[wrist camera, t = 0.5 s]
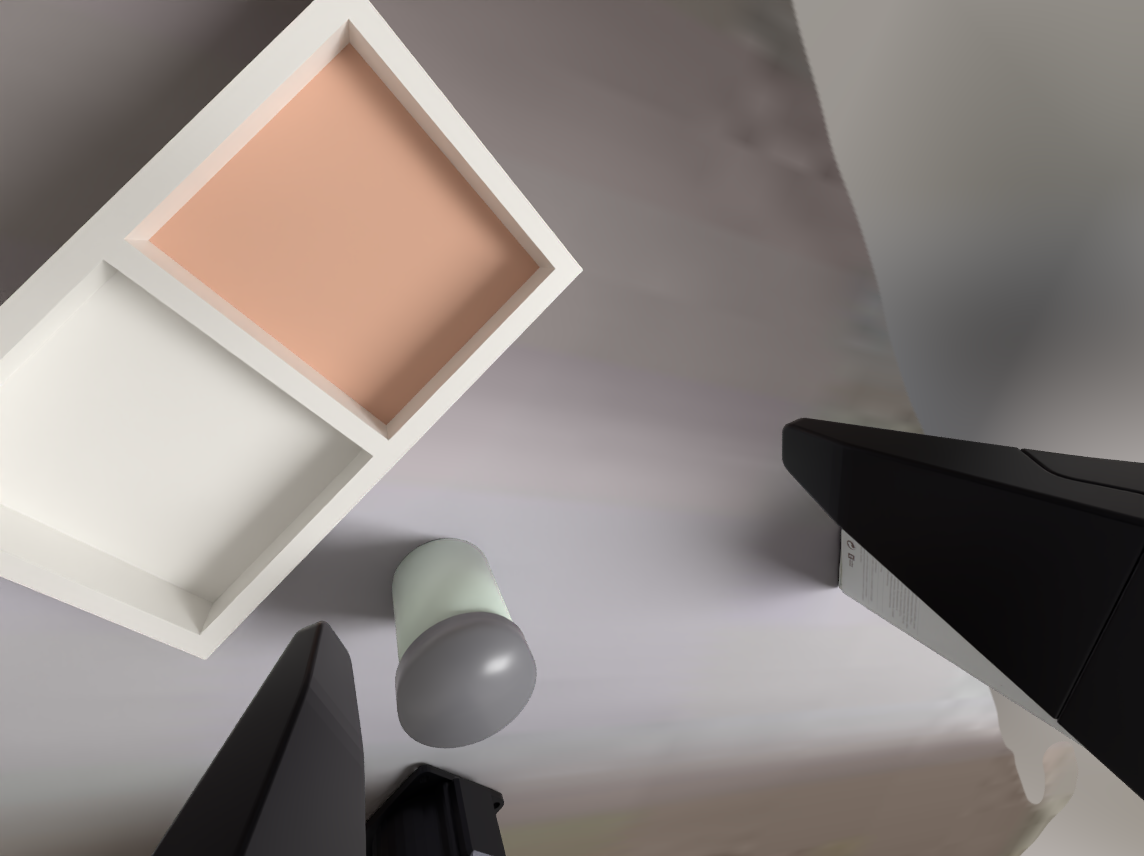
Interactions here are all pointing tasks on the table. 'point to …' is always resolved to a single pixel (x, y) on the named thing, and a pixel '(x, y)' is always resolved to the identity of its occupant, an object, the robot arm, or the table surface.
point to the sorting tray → (257, 332)
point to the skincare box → (922, 622)
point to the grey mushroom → (456, 647)
